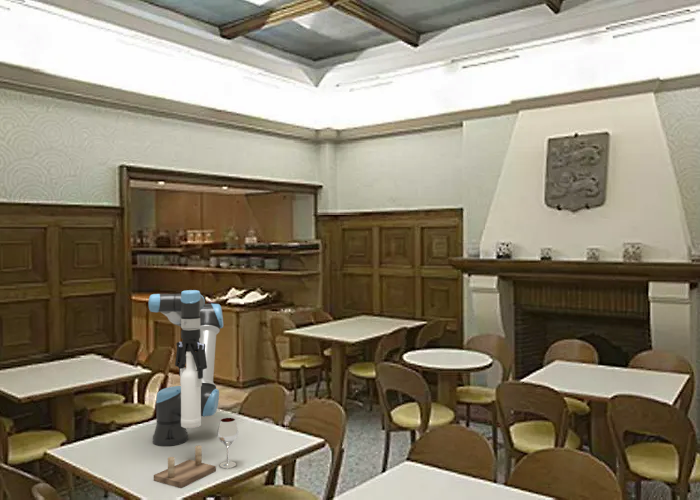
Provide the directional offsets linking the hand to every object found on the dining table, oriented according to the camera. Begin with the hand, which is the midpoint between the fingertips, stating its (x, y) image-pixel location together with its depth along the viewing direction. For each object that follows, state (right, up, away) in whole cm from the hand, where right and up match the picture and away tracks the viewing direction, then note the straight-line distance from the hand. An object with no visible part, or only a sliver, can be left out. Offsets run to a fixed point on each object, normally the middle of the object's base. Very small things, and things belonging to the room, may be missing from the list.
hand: (190, 385), depth 239 cm
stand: (+2, -31, -15) cm, 34 cm away
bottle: (0, -16, 0) cm, 16 cm away
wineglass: (+16, -31, -4) cm, 35 cm away
